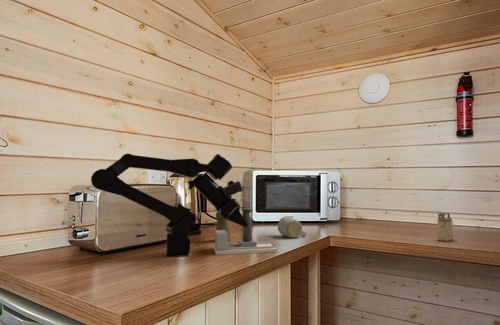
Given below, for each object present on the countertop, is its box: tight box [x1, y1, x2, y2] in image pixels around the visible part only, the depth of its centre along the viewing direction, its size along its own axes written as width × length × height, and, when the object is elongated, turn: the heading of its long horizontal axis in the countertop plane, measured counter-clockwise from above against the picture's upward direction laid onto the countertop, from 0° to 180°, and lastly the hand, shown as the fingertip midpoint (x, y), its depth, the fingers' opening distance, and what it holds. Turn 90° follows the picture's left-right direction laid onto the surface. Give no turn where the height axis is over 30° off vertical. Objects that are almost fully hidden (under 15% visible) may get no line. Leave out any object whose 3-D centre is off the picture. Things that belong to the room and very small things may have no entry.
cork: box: [215, 211, 232, 243], centre depth 123 cm, size 6×6×11 cm
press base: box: [212, 229, 278, 256], centre depth 107 cm, size 19×10×6 cm, turn 101°
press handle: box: [237, 207, 258, 247], centre depth 108 cm, size 5×6×12 cm
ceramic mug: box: [277, 215, 307, 239], centre depth 132 cm, size 11×8×8 cm
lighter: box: [436, 212, 454, 242], centre depth 124 cm, size 7×4×10 cm, turn 124°
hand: (244, 224), depth 108 cm, fingers open, 9 cm apart
